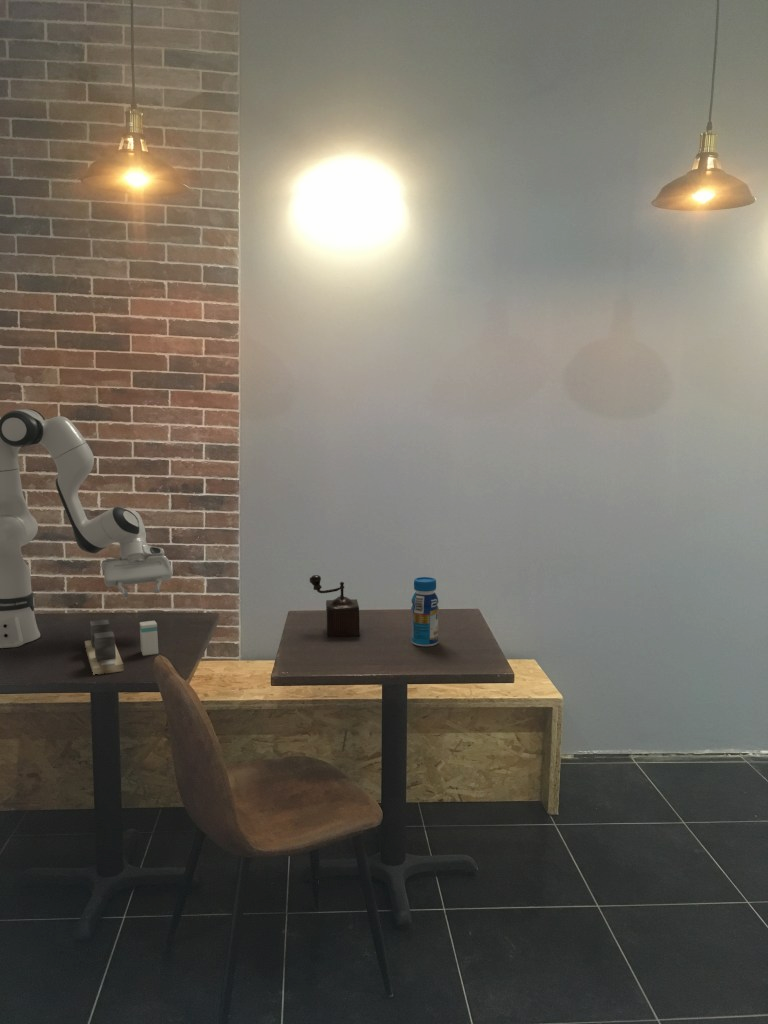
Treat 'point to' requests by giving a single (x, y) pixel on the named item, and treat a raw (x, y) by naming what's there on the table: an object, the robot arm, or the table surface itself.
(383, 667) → the table surface
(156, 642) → the block
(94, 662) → the rail board
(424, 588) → the beverage bottle
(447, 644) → the table surface
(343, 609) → the manual coffee grinder
